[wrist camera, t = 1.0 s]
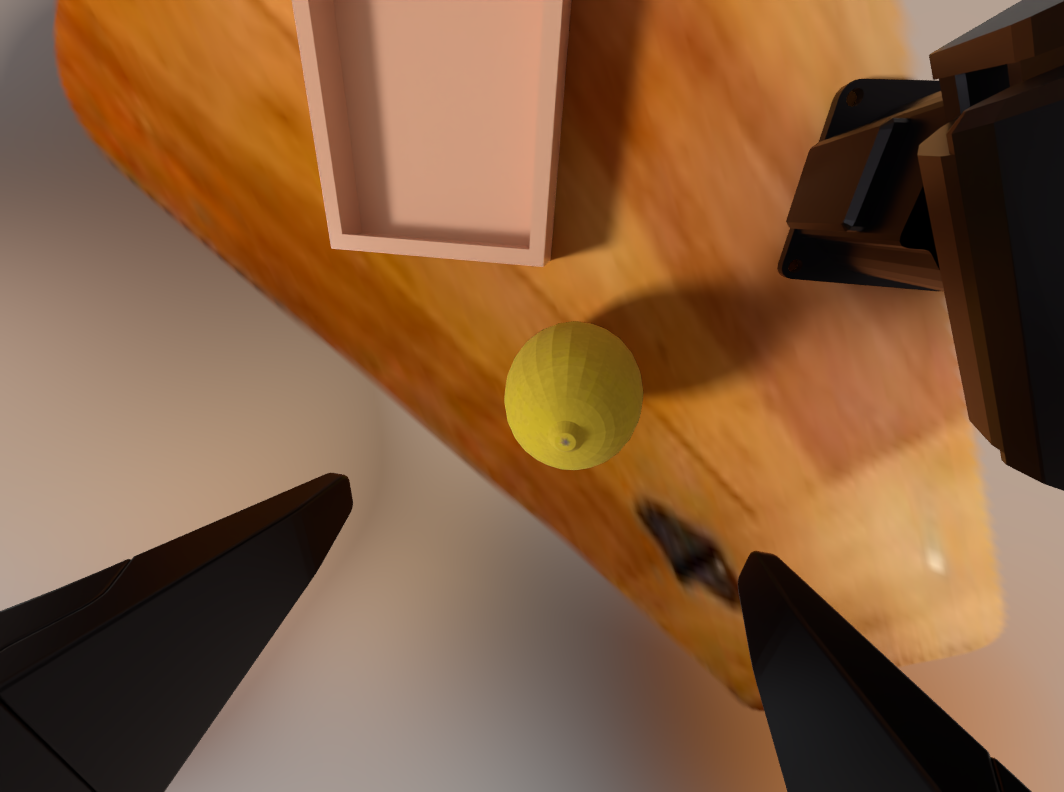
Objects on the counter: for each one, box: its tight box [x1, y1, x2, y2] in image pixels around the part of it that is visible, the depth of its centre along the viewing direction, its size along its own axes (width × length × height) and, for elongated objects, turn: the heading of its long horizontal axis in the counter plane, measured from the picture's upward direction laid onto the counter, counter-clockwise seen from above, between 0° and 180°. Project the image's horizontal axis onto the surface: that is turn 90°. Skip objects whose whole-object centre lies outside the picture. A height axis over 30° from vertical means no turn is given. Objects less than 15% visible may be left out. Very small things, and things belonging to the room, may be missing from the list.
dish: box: [292, 0, 571, 267], centre depth 14 cm, size 9×10×2 cm
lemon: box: [504, 321, 643, 470], centre depth 16 cm, size 6×6×8 cm
